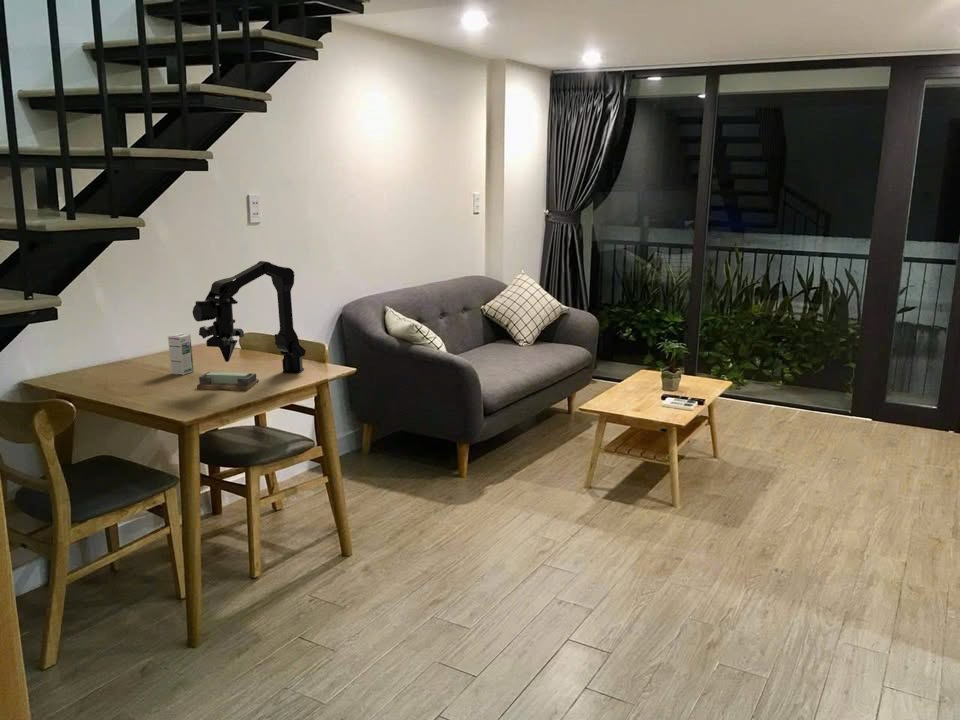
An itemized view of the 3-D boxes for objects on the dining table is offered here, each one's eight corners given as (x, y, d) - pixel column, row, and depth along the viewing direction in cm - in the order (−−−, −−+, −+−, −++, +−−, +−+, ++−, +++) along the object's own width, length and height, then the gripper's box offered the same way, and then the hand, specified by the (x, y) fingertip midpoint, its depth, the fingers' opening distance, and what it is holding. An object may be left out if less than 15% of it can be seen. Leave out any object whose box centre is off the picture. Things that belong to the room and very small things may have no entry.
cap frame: (258, 382, 288) (258, 372, 287) (247, 390, 277) (246, 380, 277) (210, 380, 290) (209, 370, 289) (197, 388, 279) (196, 378, 278)
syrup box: (183, 375, 297) (180, 336, 293) (170, 373, 299) (167, 335, 295) (193, 371, 302) (191, 333, 298) (181, 370, 304) (178, 332, 300)
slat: (249, 381, 285) (248, 373, 284) (245, 384, 281) (245, 375, 280) (210, 380, 286) (210, 372, 285) (206, 382, 282) (206, 374, 281)
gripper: (213, 312, 288) (215, 354, 291) (189, 322, 270) (193, 367, 273) (243, 313, 287) (245, 355, 290) (222, 323, 269) (225, 368, 272)
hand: (227, 361), depth 282 cm, fingers closed
